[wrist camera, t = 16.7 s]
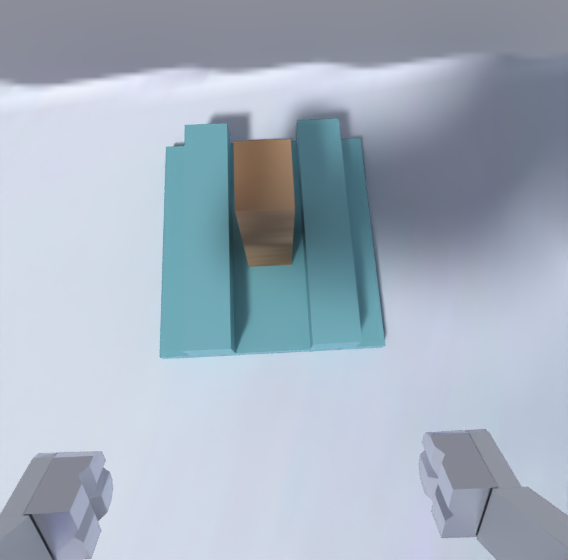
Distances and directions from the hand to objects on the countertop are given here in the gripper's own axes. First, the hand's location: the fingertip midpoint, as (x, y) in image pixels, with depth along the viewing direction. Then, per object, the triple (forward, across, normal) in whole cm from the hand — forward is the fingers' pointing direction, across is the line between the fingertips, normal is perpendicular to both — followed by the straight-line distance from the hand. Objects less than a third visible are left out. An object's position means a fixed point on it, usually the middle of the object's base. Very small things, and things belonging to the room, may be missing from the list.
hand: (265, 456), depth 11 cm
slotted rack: (+21, 0, +4) cm, 22 cm away
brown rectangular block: (+21, 0, +3) cm, 21 cm away
